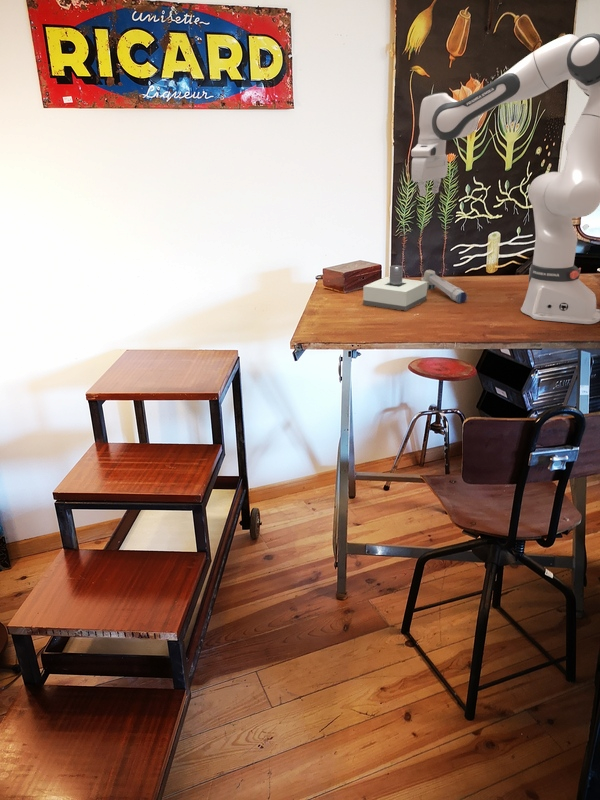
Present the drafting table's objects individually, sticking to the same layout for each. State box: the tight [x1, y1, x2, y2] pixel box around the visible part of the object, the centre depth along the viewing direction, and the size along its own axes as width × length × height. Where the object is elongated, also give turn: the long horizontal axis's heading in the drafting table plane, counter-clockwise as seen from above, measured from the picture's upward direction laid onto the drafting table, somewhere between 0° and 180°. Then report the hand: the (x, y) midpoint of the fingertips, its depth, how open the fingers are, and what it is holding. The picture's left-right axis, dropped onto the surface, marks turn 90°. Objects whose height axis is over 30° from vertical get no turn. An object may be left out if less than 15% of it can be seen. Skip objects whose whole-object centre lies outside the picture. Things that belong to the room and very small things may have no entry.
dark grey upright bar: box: [389, 264, 404, 287], centre depth 192 cm, size 4×4×10 cm
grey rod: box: [420, 269, 469, 304], centre depth 201 cm, size 5×7×25 cm
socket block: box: [362, 276, 428, 312], centre depth 193 cm, size 15×15×6 cm
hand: (429, 194), depth 199 cm, fingers open, 8 cm apart
